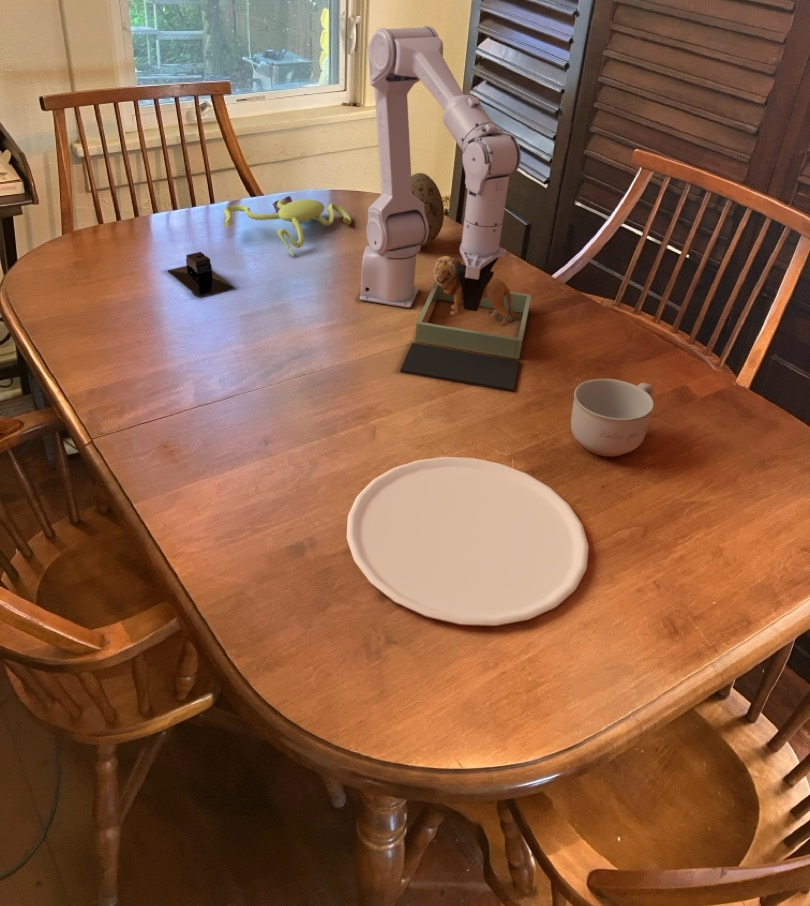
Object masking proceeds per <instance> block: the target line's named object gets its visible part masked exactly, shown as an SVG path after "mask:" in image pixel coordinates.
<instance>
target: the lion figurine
mask: <svg viewBox="0 0 810 906" xmlns="http://www.w3.org/2000/svg"><path fill="white" fill-rule="evenodd" d="M458 264H461V265H465V263H461V261H460V260H458V259H456V258H455V257H452V256H449V255H442V256H441V257H439V258H436V259H435V265H434V268H433V271H432V276H433V279H434V282H435V281H436V282H437V284H438V285H439V286H441V287H442V288H443V289H444V292H445V293H447V294H449V295H453V296H454V302H453V303H454V304H452V305H450V308H451V309H452V310H451V311H450V315H451V316H452V317H456V316H459V314H460V312H461V311H462V304H463V303H462V301H463V298H462V289H461V284H460V281H459V279H458V277H457V274H456V268H457V265H458ZM510 292H511V291H510V287H509V286H508V285H507V284H506V283H505V281H502V280H501V279H500V278H493V277H492V279H491V280H490V281H489V283H488V284H487V286H486V288H485V290H484V292H483V295H482V298H481V300H482V299H486V298H490V300H491V303H492V304H493V306H494V308H495V309H494V308H493V310H489V311H488V312H487V316H488V317H489V316H490V317H495V316H496V315H497V314H498V313H499V315H500V314H501V315H502V317H503V319H504V320H502V321H501V320H499V322H498V324H499V326H500V327H507V326H508V324H509V322H508V314H509V315H511V316H512V318H513V321H514V322H521V319H520V317H519V316H517V315H516V314H515V312H513V308H512V298H511V293H510ZM505 295H507V299H508V304H509V310H510V311H507V310H506V309H505V306H504V296H505Z"/></svg>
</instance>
